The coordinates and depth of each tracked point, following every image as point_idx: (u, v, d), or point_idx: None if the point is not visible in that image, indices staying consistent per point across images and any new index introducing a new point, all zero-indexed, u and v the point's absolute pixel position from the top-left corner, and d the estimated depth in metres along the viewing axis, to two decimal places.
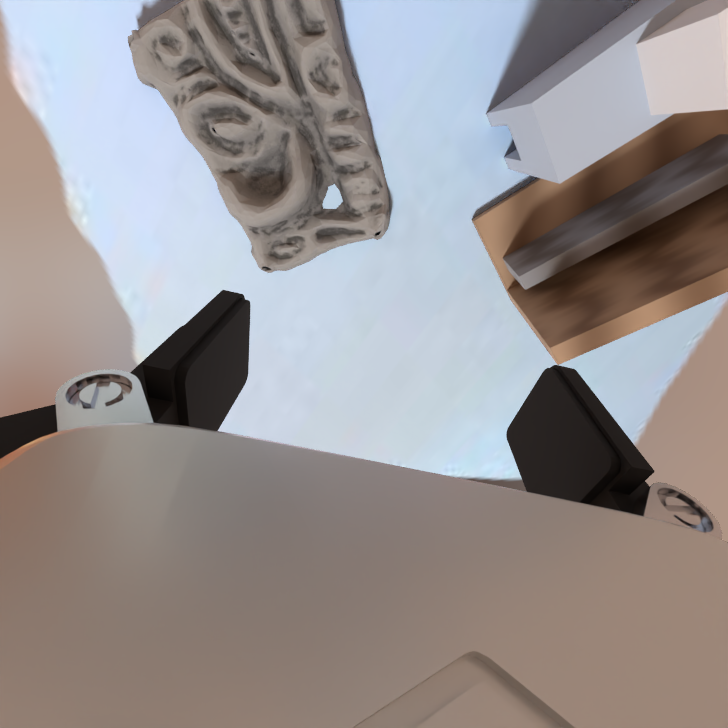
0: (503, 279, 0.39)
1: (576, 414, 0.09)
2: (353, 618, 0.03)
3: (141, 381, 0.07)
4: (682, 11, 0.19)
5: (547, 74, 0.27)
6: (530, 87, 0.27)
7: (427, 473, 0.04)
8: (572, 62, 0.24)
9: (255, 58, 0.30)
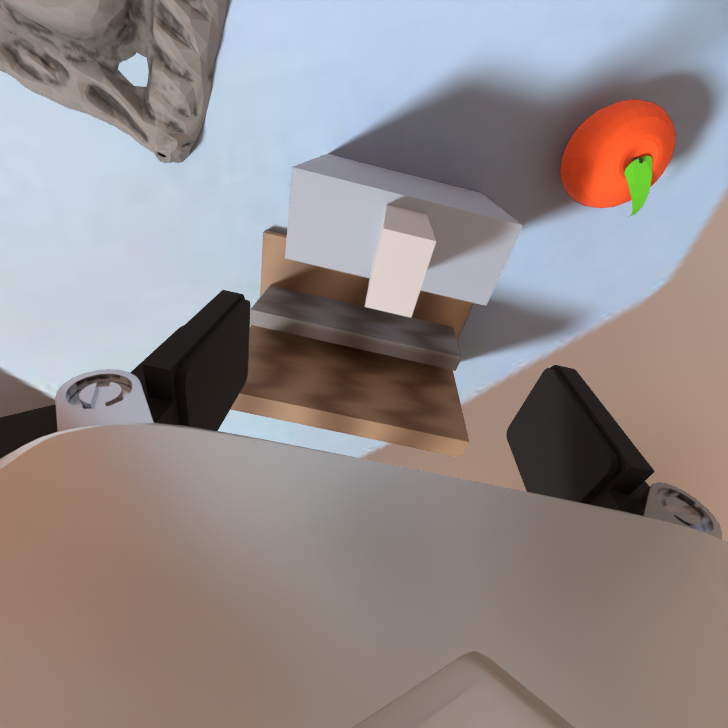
0: None
1: (576, 414, 0.09)
2: (353, 618, 0.03)
3: (141, 381, 0.07)
4: (423, 213, 0.21)
5: (370, 170, 0.27)
6: (351, 165, 0.27)
7: (427, 473, 0.04)
8: (373, 176, 0.24)
9: None
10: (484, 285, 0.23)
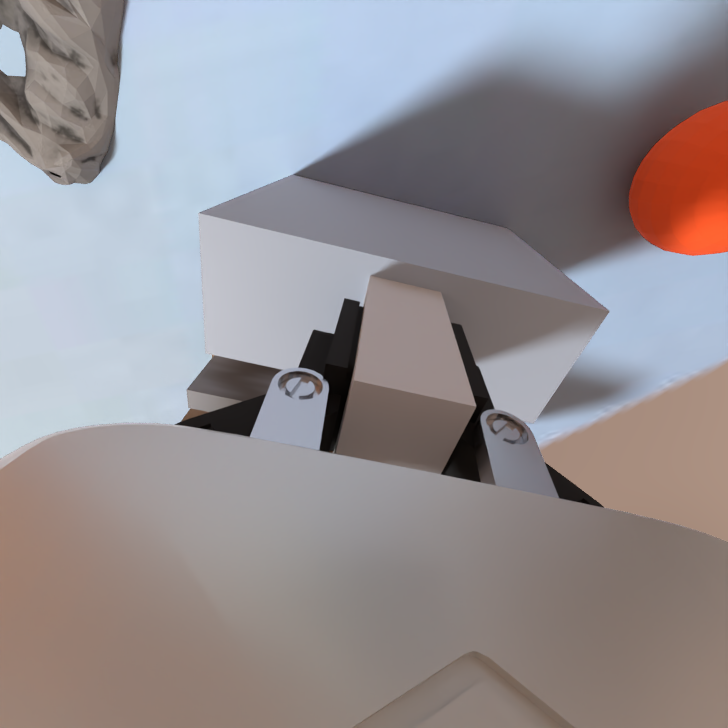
0: None
1: None
2: (353, 618, 0.03)
3: None
4: (435, 290, 0.12)
5: (350, 201, 0.18)
6: (322, 195, 0.18)
7: (427, 473, 0.04)
8: (353, 216, 0.15)
9: None
10: (533, 396, 0.14)
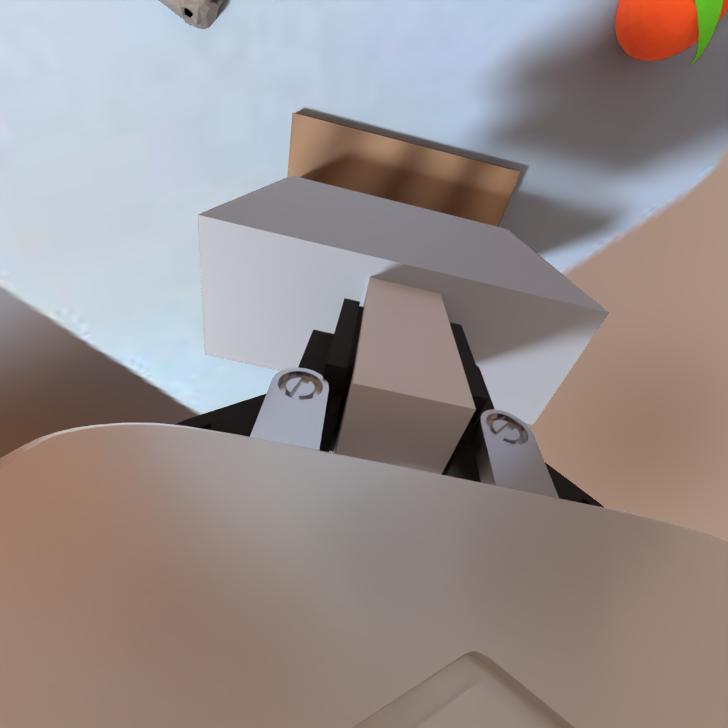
0: None
1: None
2: (353, 618, 0.03)
3: None
4: (435, 292, 0.12)
5: (350, 202, 0.18)
6: (321, 196, 0.18)
7: (427, 473, 0.04)
8: (352, 217, 0.15)
9: None
10: (532, 397, 0.14)
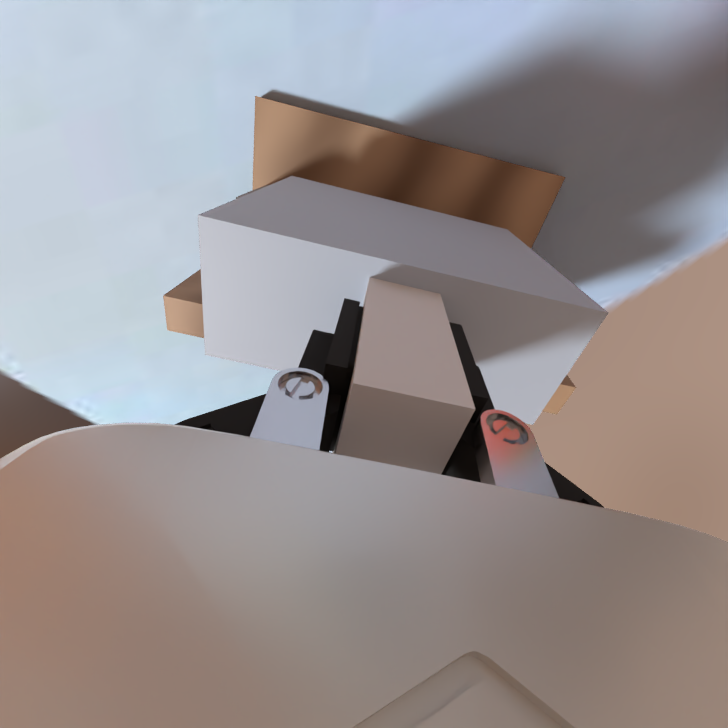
0: None
1: None
2: (353, 618, 0.03)
3: None
4: (434, 292, 0.12)
5: (350, 202, 0.18)
6: (321, 197, 0.18)
7: (427, 473, 0.04)
8: (352, 217, 0.15)
9: None
10: (532, 397, 0.14)
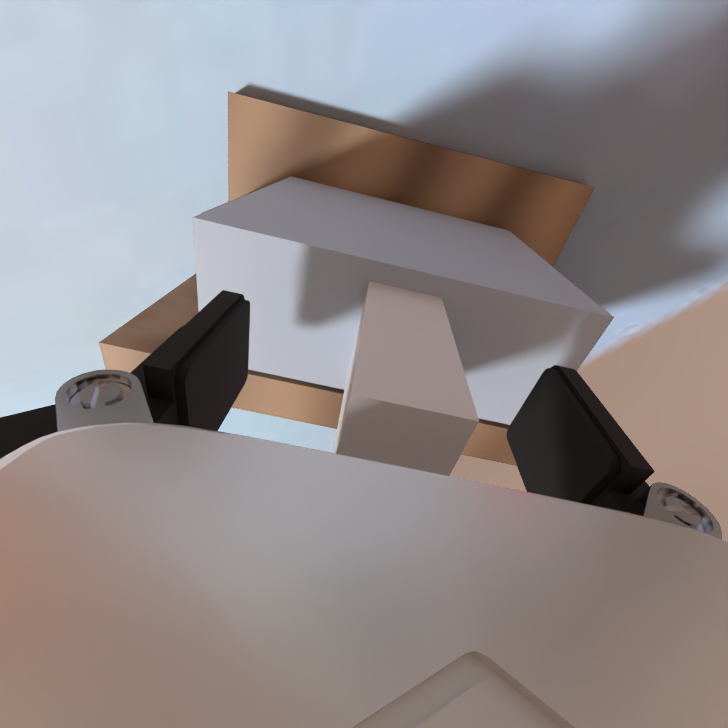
0: None
1: (576, 414, 0.09)
2: (353, 618, 0.03)
3: (141, 381, 0.07)
4: (436, 296, 0.12)
5: (349, 203, 0.18)
6: (320, 198, 0.18)
7: (427, 473, 0.04)
8: (351, 219, 0.15)
9: None
10: None
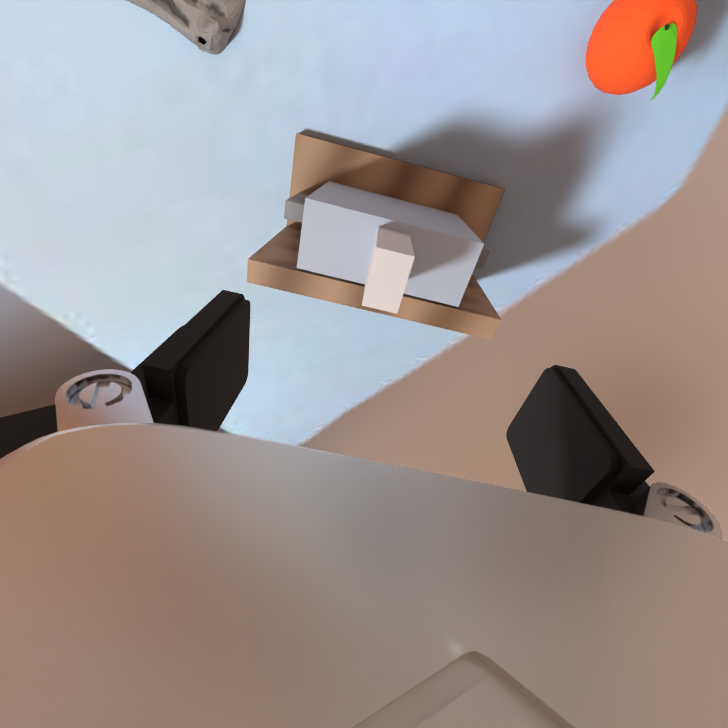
0: None
1: (576, 414, 0.09)
2: (353, 618, 0.03)
3: (141, 381, 0.07)
4: (407, 233, 0.27)
5: (365, 196, 0.33)
6: (349, 193, 0.33)
7: (427, 473, 0.04)
8: (368, 203, 0.30)
9: None
10: (456, 290, 0.29)
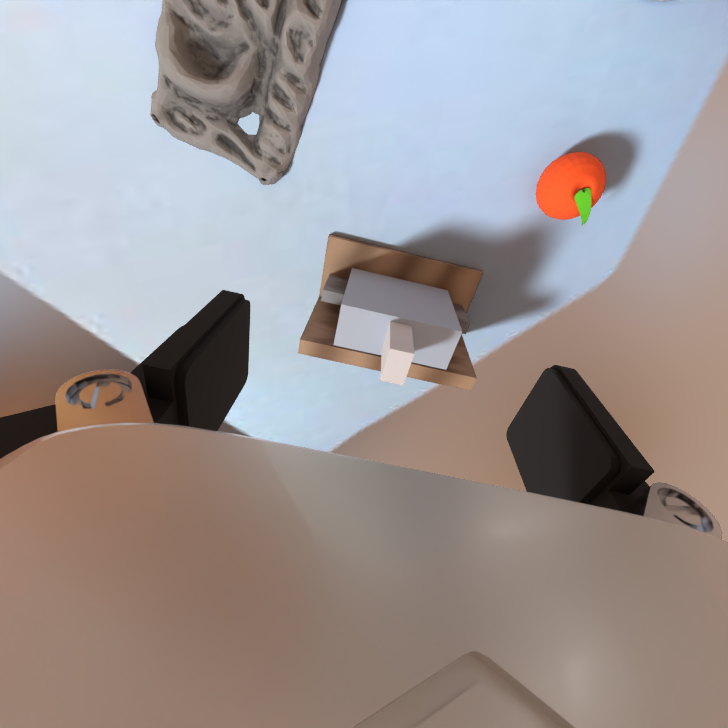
0: (321, 288, 0.51)
1: (576, 414, 0.09)
2: (353, 618, 0.03)
3: (141, 381, 0.07)
4: (409, 325, 0.39)
5: (379, 285, 0.46)
6: (368, 283, 0.45)
7: (427, 473, 0.04)
8: (382, 295, 0.43)
9: None
10: (444, 359, 0.41)
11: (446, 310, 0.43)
